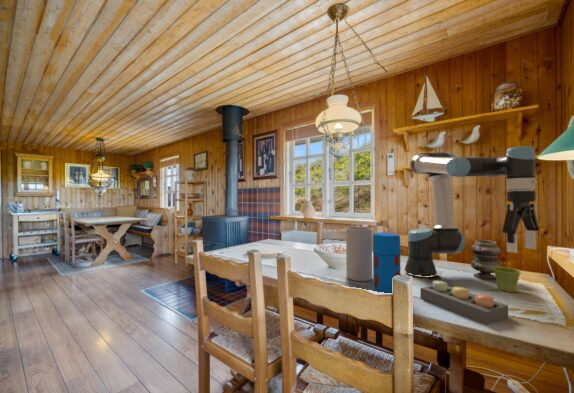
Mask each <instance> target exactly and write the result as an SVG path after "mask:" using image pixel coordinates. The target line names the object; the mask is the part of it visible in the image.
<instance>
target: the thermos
mask: <svg viewBox="0 0 574 393" xmlns="http://www.w3.org/2000/svg"><path fill="white" fill-rule="evenodd" d="M400 236H401V235H400V234H399V233H395V232H374V233H373V232H372V279H373V280H372V282H373V283H372V284H373V292H374V291H377V292H384V293H392V278H393V277H394V276H396V275H400V276H401V237H400Z"/></svg>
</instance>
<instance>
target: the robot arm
mask: <svg viewBox="0 0 574 393" xmlns="http://www.w3.org/2000/svg"><path fill="white" fill-rule="evenodd" d="M536 159H537V158H536V153H535V148H534V147H533V146H529V145H527V146H526V145H525V146H523V145H522V146H516V147H515V146H514V147H510V148H507V149H506V153H505V155H502V156H490V157H489V156H485V157H484V156H481V157H478V156H477V157H468V156H467V157H463V156H462V157H461V156H456V155H455V154H454V153H451V152H446V151H443V152H420V153H418V154H415V155H414V156H413V157H412V158H411V159H410V162H409V166H410V168H411V170H412V171H413V172H414V173H416V174H419V175H428V179H429V180H430V181H432V193H433V194H432V195H433V206H434V221H435V225H434V226H433V227H432V228H427V227H426V228H414V229H412V230H411V229H410V230H409V231H408V233H407V261H406V264H405V266H404V272H405V271H406V272H407V273H411V274H413V275H421V276H431V275H436V274H437V275H438V270H437V268H436V265H435V263H434V255H437V254H438V255H443V254H444V255H445V254H446V255H447V254H448V255H453V254H454V255H455V254H459V253H461V252H462V251H463V250H464V249H465V246H466V236H464V234H463V232H462V231H460V230H459V227H458V226H457V225H455V216H454V215H455V213H454V203H453V202H454V201H453V193H452V192H453V191H452V190H453V189H452V181H451V180H452V178H454V177H456V178H462V177H464V178H465V177H485V178H497V177H504V176H506V190H507V192H506V201H507V202H512V204H509V203H508V204H507V205H506V207H507V208H506V215H505V219H504V223H503V227H502V233H504V234H506V252H508V253H514V254H518V233H517V230H518V227H519V225H520V223H521V220H522V223H523V224H524V227H525V230H524V248H525V249H532V250H536V249H537V248H536V241H537V240H536V232H539V231H540V228H539V224H538V219H537V215H536V212H535V202H536V191H535V190H536V184H537V183H538V181H537V180H536ZM530 202H531V203H530ZM533 202H534V203H533Z"/></svg>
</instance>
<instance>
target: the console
mask: <svg viewBox="0 0 574 393" xmlns="http://www.w3.org/2000/svg"><path fill="white" fill-rule="evenodd" d="M453 287H454V286H453ZM453 287H452V286H449V285H447V292H443V293H442V292H439V291H436V290H433V284H432V285H429V286H427V285H426V286H423V287H420V299H422V300H424V301H427V302H430V303H432V304H435V305H436V306H437V305H438V306H439V307H442V308H444V309H446V310H449V311H452V312H455V313H456V314H457V313H458V314H460V315H463V316H464V317H467V318H470V319H472V320H475V321H477V322H480V323H482V324H485V325H487V326H488V325H491V324H493V323H496V322H498V321H501V320H504V319H506V318H509V305H508V304H506V303H502V302H499V301H496V300H494V308H491V309H487V308H484V307H482V306H479V305H476V304H475V295H476V294H475V293H471V292H469V299H467V300H462V299H459V298H456V297H453V296H452V288H453Z"/></svg>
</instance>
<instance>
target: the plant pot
mask: <svg viewBox="0 0 574 393" xmlns="http://www.w3.org/2000/svg"><path fill="white" fill-rule="evenodd" d="M493 270H494V273H493V274H495V275H494V276H496V280H495V282H496V285H497V287H496V288H497V289H498V290H500V291H503V292H507V293H515V292H517V286H518V281H519V277H520V274H522V271H521V270H518V269H516V268H511V267H507V266H506V267H504V266H501V267H494V268H493Z"/></svg>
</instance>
